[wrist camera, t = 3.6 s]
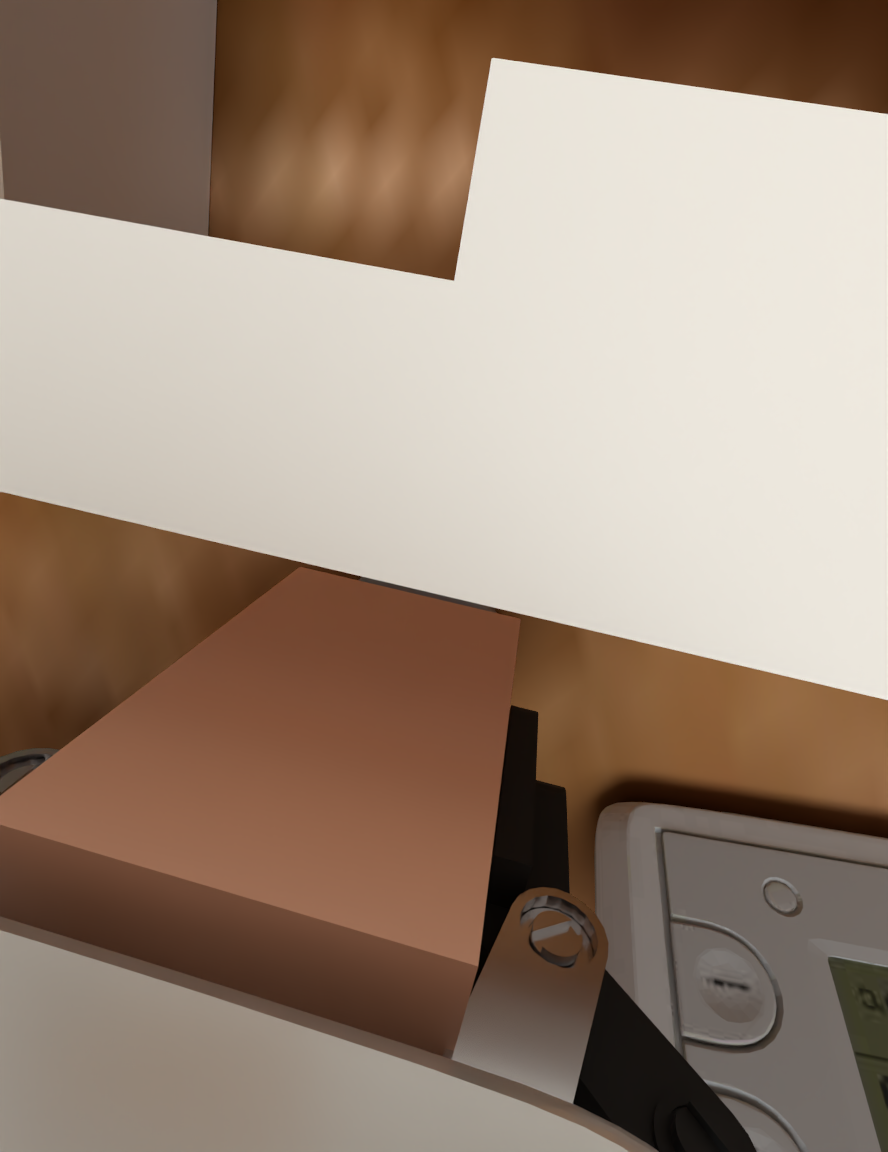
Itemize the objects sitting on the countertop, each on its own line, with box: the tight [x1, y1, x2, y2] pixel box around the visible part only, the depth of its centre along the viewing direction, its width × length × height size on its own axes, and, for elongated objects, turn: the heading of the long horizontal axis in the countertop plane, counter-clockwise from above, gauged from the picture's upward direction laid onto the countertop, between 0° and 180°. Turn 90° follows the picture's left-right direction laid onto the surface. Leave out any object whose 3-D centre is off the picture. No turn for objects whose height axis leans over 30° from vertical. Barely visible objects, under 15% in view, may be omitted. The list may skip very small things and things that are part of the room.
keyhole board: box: [0, 0, 888, 700], centre depth 9 cm, size 12×22×9 cm, turn 80°
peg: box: [0, 567, 521, 1056], centre depth 12 cm, size 5×5×11 cm
